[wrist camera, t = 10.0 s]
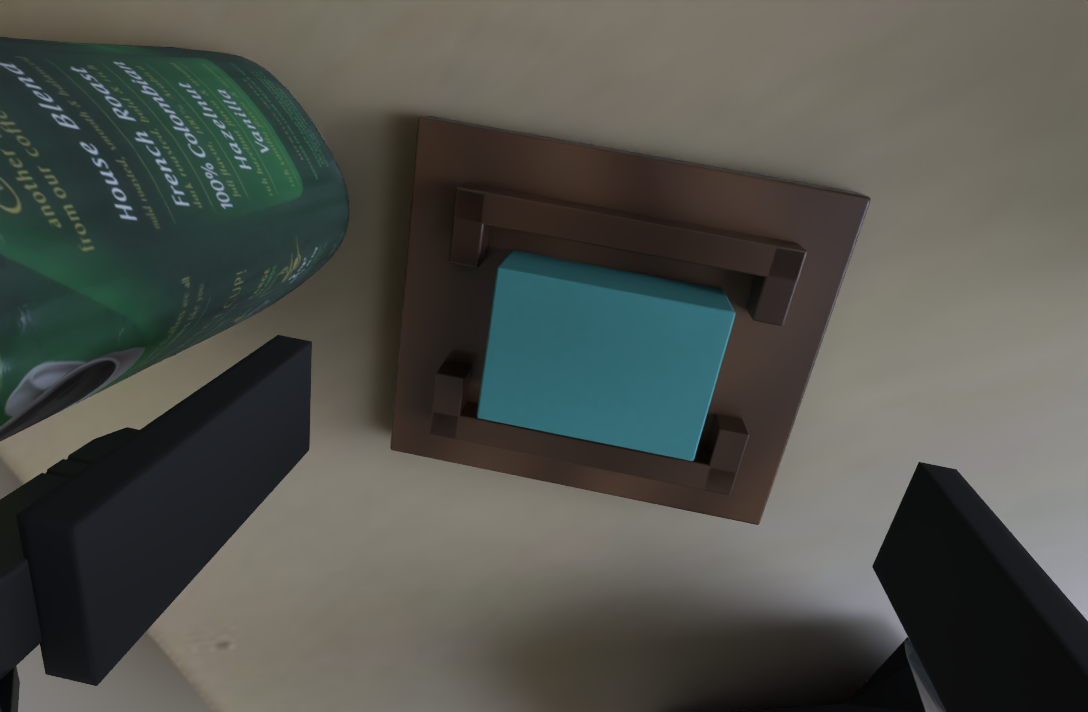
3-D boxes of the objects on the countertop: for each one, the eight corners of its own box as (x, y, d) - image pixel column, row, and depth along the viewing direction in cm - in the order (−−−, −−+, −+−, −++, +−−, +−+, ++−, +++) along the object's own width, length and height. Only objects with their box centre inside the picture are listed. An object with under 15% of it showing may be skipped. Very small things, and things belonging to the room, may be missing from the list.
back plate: (399, 435, 26) (378, 466, 24) (428, 115, 21) (405, 116, 19) (753, 507, 25) (766, 546, 23) (859, 192, 21) (887, 203, 18)
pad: (491, 386, 23) (475, 418, 21) (511, 248, 21) (496, 267, 19) (686, 425, 23) (693, 462, 21) (724, 288, 21) (736, 312, 19)
